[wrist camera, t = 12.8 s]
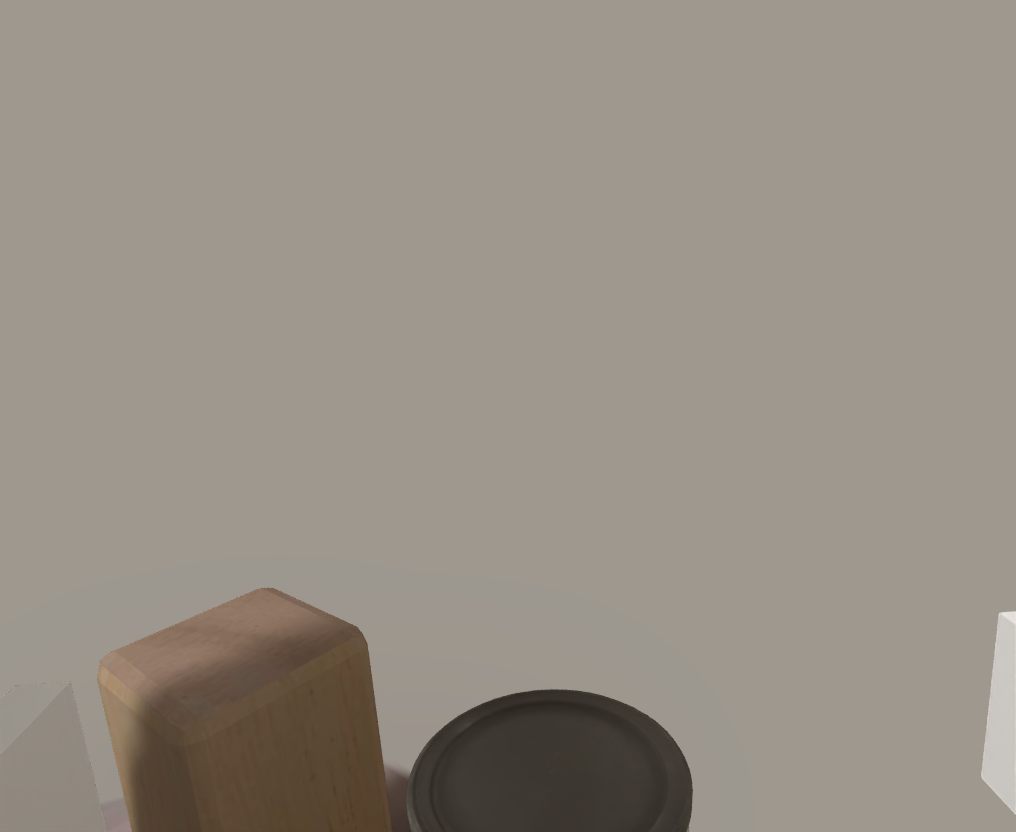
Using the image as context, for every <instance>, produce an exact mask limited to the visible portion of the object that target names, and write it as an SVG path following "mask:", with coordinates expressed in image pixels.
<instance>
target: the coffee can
mask: <svg viewBox="0 0 1016 832" xmlns="http://www.w3.org/2000/svg"><path fill="white" fill-rule="evenodd" d="M692 792H693V789H692V780H691V774H690V770H689V767H688V764H687V762H686V759H685V757H684V755H683V754H682V751H681V750H680V748H679V747H678V745H677V744H676V742H675V741H674V739H673V738H672V737H671V736H670V735H669V734H668V732H667V731H666V730H665V729H664V728H663V727H662V726H660V725H659V724H658V723H657V722H656V721H655V720H653V719H652V718H650V717H649V716H648V715H646V714H644V713H642V712H640V711H638V710H637V709H635V708H634V707H631V706H629V705H627V704H624V703H622V702H619V701H617V700H614V699H611V698H608V697H605V696H602V695H598V694H593V693H588V692H582V691H574V690H536V691H535V690H534V691H529V692H521V693H515V694H511V695H507V696H503V697H500V698H497V699H493V700H491V701H488V702H485V703H483V704H481V705H479V706H477V707H474V708H472V709H470V710H469V711H467V712H465V713H463V714H461V715H459V716H458V717H456V718H455V719H454V720H452V721H451V722H449V723H448V724H447V725H446V726H444V727H443V728H442V729H441V730H440V731H439V732H438V733H436V734H435V735H434V737H432V738H431V740H430V741H429V742H428V743H427V744H426V746H425V747H424V748H423V750H422V751H421V753H420V754H419V756H418V758H417V760H416V762H415V764H414V766H413V769H412V771H411V774H410V778H409V781H408V786H407V815H408V820H409V825H410V829H411V832H689V822H690V818H691V810H692Z"/></svg>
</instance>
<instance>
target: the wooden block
mask: <svg viewBox="0 0 1016 832" xmlns="http://www.w3.org/2000/svg"><path fill="white" fill-rule="evenodd" d="M97 680H98V684H99V689H100V692H101V698H102V702H103V706H104V711H105V715H106V719H107V724H108V728H109V732H110V737H111V741H112V746H113V750H114V754H115V759H116V763H117V767H118V772H119V776H120V781H121V785H122V789H123V794H124V798H125V802H126V807H127V811H128V816H129V820H130V824H131V829H132V832H392V825H391V818H390V810H389V803H388V795H387V788H386V780H385V773H384V765H383V757H382V750H381V744H380V743H381V742H380V735H379V727H378V720H377V712H376V706H375V697H374V690H373V683H372V674H371V667H370V659H369V652H368V645H367V642H366V640H365V638H364V636H363V634H362V632H361V631H360V630H359V629H358V627H356V626H354V625H352V624H350V623H348V622H345V621H343V620H341V619H339V618H337V617H335V616H332V615H330V614H328V613H325V612H324V611H322V610H319V609H317V608H315V607H313V606H311V605H309V604H306V603H304V602H302V601H300V600H298V599H296V598H293V597H291V596H289V595H287V594H285V593H283V592H280V591H278V590H276V589H274V588H261V589H257V590H254V591H252V592H250V593H248V594H245V595H243V596H240V597H238V598H236V599H233V600H231V601H229V602H227V603H224V604H222V605H220V606H218V607H215V608H213V609H210V610H208V611H206V612H203V613H201V614H199V615H196V616H194V617H192V618H190V619H187V620H185V621H182V622H180V623H178V624H175V625H173V626H171V627H169V628H166V629H164V630H162V631H159V632H157V633H155V634H153V635H150V636H148V637H145V638H143V639H141V640H138V641H136V642H134V643H131V644H129V645H127V646H125V647H122V648H120V649H118V650H115V651H113V652H111V653H110V654H108V655H107V656H106V657H104V658H103V659H102V660H100V663H99V671H98V679H97Z"/></svg>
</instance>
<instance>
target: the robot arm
mask: <svg viewBox="0 0 1016 832" xmlns="http://www.w3.org/2000/svg"><path fill="white" fill-rule="evenodd" d="M981 778H982V779H983V780H984V781H985V782H986V783H987V784H988V785H989V787H990V788H991V789H992V790H993V791H994V792H995V793H996V794H997V795H998V796H999V797H1000V798H1001V799H1002V801H1003V802H1004V803H1005V804H1006V805H1007V806H1008V807H1009V808H1010V809H1011V810H1012V811H1013V812H1014V813H1015V815H1016V612H1002V613H999V619H998V628H997V637H996V646H995V655H994V664H993V673H992V682H991V692H990V701H989V710H988V719H987V728H986V737H985V746H984V755H983V765H982V774H981ZM0 832H107V830H106V826H105V822H104V818H103V814H102V809H101V805H100V801H99V797H98V793H97V789H96V784H95V780H94V776H93V772H92V768H91V763H90V760H89V755H88V751H87V747H86V743H85V739H84V735H83V730H82V726H81V722H80V718H79V713H78V709H77V705H76V701H75V697H74V693H73V689H72V684H71V682H56V683H42V684H29V685H16V686H15V687H14V688H13V689H11V691H9V692H8V693H7V694H6V695H5V696H4V697H3V698H2V699H1V700H0Z"/></svg>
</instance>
